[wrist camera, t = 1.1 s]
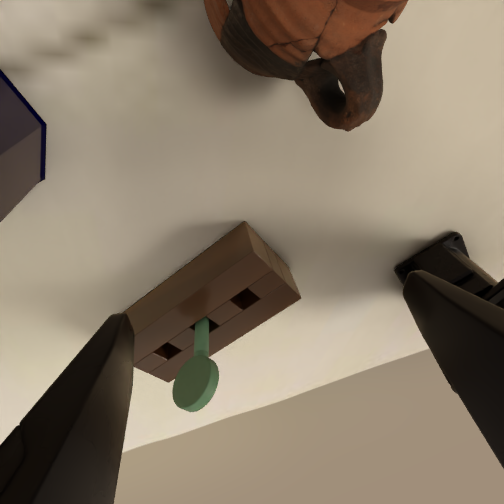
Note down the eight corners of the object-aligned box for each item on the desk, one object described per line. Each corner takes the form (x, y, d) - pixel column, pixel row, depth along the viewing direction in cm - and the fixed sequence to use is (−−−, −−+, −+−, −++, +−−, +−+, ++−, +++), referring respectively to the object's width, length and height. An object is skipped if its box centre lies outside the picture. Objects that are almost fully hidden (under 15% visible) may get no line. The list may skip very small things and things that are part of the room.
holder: (288, 266, 28) (302, 298, 24) (170, 346, 31) (168, 383, 28) (244, 220, 24) (253, 250, 21) (116, 317, 28) (107, 354, 25)
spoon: (217, 288, 28) (221, 401, 20) (188, 306, 29) (180, 420, 21) (209, 281, 27) (209, 395, 19) (179, 300, 28) (168, 416, 20)
